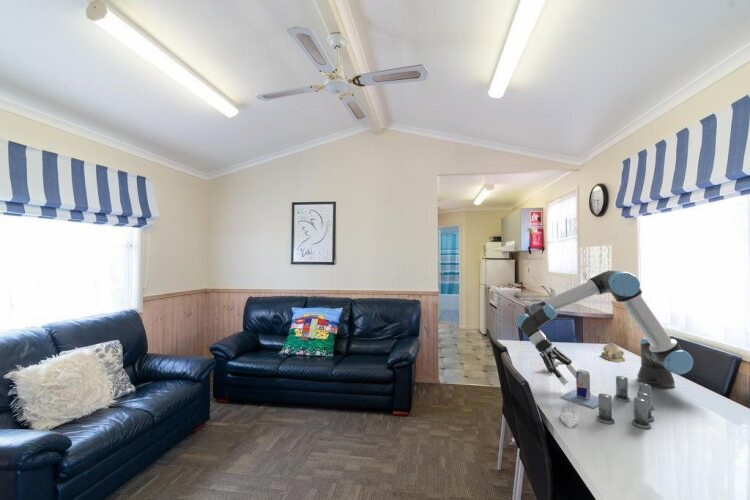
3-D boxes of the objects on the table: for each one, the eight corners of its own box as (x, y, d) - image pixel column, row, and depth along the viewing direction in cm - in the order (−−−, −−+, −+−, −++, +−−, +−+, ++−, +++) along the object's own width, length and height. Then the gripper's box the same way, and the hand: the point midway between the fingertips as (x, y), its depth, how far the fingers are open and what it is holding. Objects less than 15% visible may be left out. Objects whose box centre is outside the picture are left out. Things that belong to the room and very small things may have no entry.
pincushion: (559, 413, 144) (559, 400, 144) (575, 416, 141) (575, 403, 141) (561, 426, 133) (561, 412, 133) (579, 430, 130) (579, 415, 131)
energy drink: (573, 395, 160) (573, 370, 160) (584, 395, 160) (584, 369, 161) (581, 400, 155) (581, 374, 155) (592, 400, 155) (592, 373, 155)
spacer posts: (585, 417, 140) (585, 392, 140) (616, 395, 161) (616, 374, 162) (642, 436, 125) (642, 409, 125) (668, 410, 146) (668, 386, 146)
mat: (560, 398, 159) (560, 396, 159) (573, 390, 167) (573, 389, 167) (594, 408, 148) (594, 407, 148) (606, 400, 156) (606, 399, 156)
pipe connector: (566, 375, 189) (566, 357, 189) (546, 374, 191) (546, 356, 191) (560, 369, 198) (560, 352, 199) (541, 368, 200) (541, 351, 201)
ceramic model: (629, 361, 212) (629, 345, 212) (613, 362, 211) (613, 346, 211) (611, 355, 226) (610, 340, 226) (596, 356, 224) (595, 340, 225)
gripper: (547, 342, 183) (577, 378, 171) (522, 350, 167) (554, 390, 155) (557, 334, 179) (589, 370, 166) (533, 341, 163) (566, 382, 151)
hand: (572, 380), depth 161 cm, fingers open, 13 cm apart
